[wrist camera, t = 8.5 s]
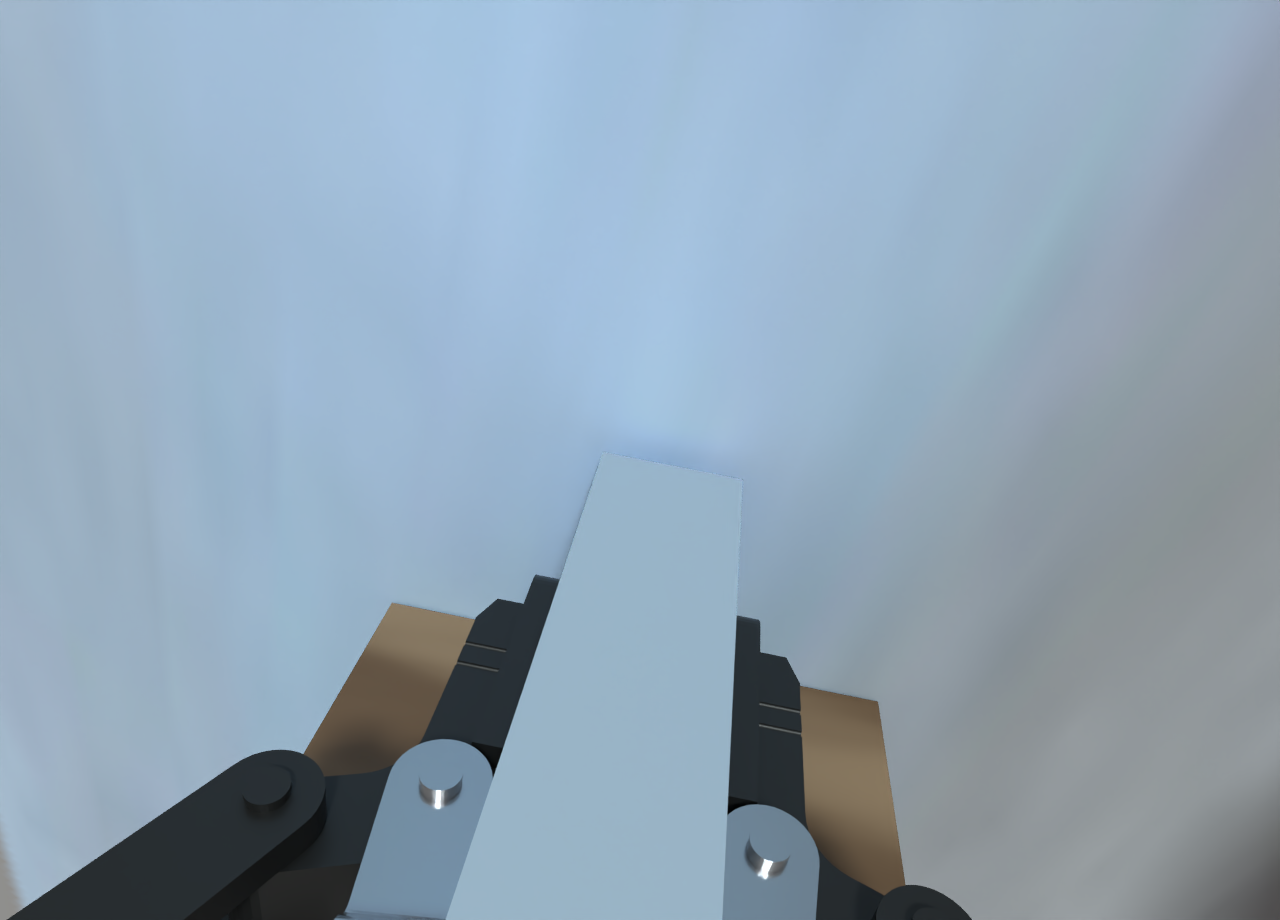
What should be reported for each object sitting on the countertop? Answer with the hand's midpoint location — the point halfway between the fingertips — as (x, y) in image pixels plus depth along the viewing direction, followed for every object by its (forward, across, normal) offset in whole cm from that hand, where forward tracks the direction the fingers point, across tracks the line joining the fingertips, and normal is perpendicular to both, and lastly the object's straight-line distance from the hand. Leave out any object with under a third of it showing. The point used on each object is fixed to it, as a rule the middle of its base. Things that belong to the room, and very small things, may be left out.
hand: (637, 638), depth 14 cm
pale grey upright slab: (+2, 0, +4) cm, 4 cm away
